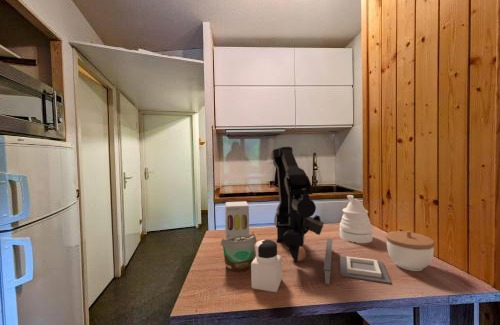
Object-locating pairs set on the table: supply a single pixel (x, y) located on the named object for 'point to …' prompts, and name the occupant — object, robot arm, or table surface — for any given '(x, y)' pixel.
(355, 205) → the honey pot
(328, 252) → the gray fence
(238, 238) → the food container
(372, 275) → the mat
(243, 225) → the supplement box
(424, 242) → the lidded bowl
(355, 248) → the table surface
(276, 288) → the medicine bottle
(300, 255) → the ball
